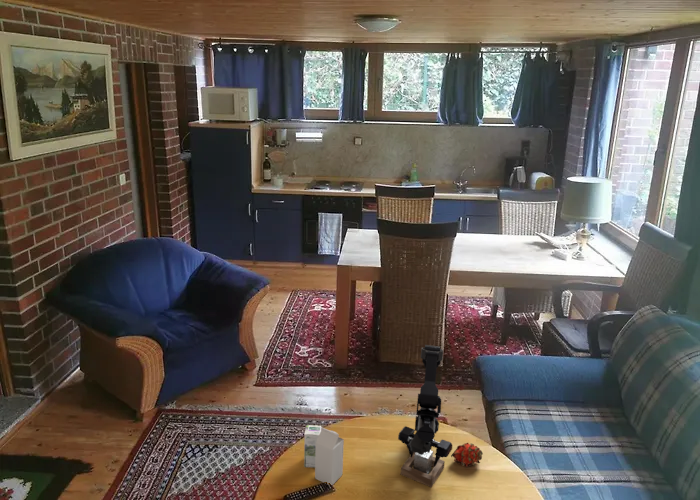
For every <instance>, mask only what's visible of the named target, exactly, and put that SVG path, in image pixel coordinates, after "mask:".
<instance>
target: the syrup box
mask: <svg viewBox="0 0 700 500" xmlns="http://www.w3.org/2000/svg"><path fill="white" fill-rule="evenodd" d="M321 428H322V426H321V425H308V424H306V425H305V431H304V445H303V446H304V448H303V449H304V450H303V451H304V454H303V460H304V462H303V468H314V469H315V451H316V441H317V438H318V436H319V434H320V432H321Z"/></svg>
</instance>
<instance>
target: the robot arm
mask: <svg viewBox="0 0 700 500" xmlns="http://www.w3.org/2000/svg"><path fill="white" fill-rule="evenodd" d="M420 359H421V360H422V361H421V362H422V364H423V366H424V368H425V372H424V373H425V374H424V382H423V384H422V385H421V386H420V393H417V402H416V403H417V404H416V412H415V415H416V416H415V420H414V421H415V422H414V423H415V424H414V428H412V427H408V426H403V428H402V429H401V430H400V431H399V433H398V434H397V435H398V436H397V437H398V438H397V439H398V441H401V443H402V444H404V445H405V446H406V448H407V450H408V453H409V454H408V455H409V456H410V457H412V456H413V452H416V453H419V454H421V455H422V454H424V453H426V452H428V453H429V452H430V450H431V451H432V448H435V454H434V455H435V456H434V457H435V462H434V466H436V465H437V463H438V461H439V459H441V458H442V459H443V458H447V457H448V456H449V455H450V453H451V451H452V450H453V443H452V442H450V441H448V440H445V439H441V440H440V441H437V440H436V439H435V437H436V435H435V434H437V432H439V427H440V423H439V421H438V419H439V418H440V417H439V415H440V414H441V412H442V399H441V396H440V395H439V388H438V387H437V385H436V382H437V381H436V379H437V369H438V368H439V366H440V364H441V362H443V359H444V349H441V346H439V345H438V346H437V345H430V344H424V347H421V352H420ZM419 407H420V408H419ZM436 409H437V410H436Z"/></svg>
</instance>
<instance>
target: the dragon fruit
mask: <svg viewBox="0 0 700 500" xmlns="http://www.w3.org/2000/svg"><path fill="white" fill-rule="evenodd" d="M483 455H484V453H483V451H482V450H481V449H480V447H478V446H477V445H475V444H473V443H469V442H466V443H463V444H459V445H458V446H457V447H456V448H455V450H454V451H453V452H452V453H451V455H450V457H451V458H454V459H453V461H454V462H456V463H457V464H459V465H460V464H461V466H466V468H468V467H471V466H477V464H480V463H481V460H482V458H483Z"/></svg>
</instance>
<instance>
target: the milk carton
mask: <svg viewBox="0 0 700 500" xmlns="http://www.w3.org/2000/svg"><path fill="white" fill-rule="evenodd" d="M339 435H340V434H339V433H338V432H336V431H334V430H332V429H331V430H329V429H327V428H324V427H321V432H320V434H319V436H318V438H317V441H316V451H315V468H314V479H315V480H316V481H317V480H318V481H320V482H322V483H324V482H327V483H330V484H331V485H332V486H333V485H334V484H335V483H336V482H337V481H338V480H339V479H340V478H341V477H342V475H343V472H344V471H343V469H344V444H345V443H344V441H345V440H344V439H343V438H341V437H340V436H339Z"/></svg>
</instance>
